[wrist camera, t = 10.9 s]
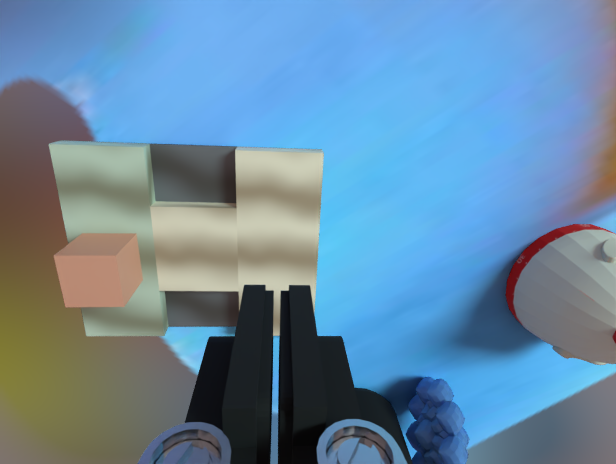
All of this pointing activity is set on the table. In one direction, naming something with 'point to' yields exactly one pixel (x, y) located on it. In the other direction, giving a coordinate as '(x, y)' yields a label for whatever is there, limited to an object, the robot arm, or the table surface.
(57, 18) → the table surface
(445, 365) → the table surface
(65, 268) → the block
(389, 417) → the coffee jar
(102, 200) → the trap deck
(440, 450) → the grapes
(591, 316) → the kitchen timer
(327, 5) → the table surface
